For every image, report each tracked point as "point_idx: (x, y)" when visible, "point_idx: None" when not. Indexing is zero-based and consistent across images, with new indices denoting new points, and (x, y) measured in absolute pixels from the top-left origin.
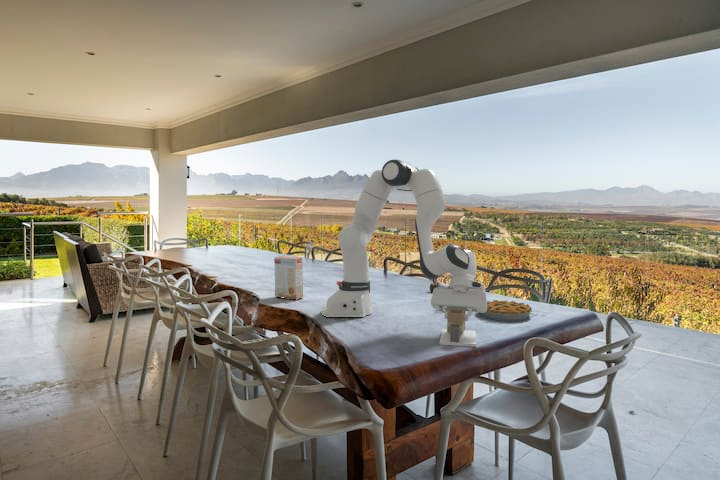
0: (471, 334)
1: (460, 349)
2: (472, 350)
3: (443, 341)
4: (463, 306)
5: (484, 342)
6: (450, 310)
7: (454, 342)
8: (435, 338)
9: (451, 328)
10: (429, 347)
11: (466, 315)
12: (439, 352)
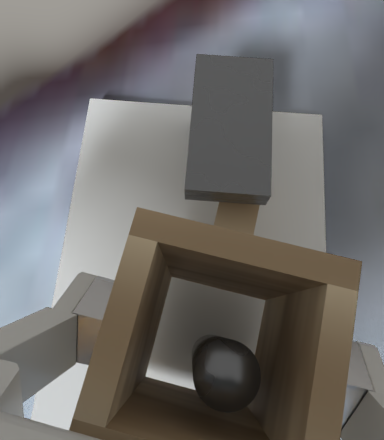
0: None
1: (191, 63)
2: (125, 56)
3: (297, 122)
4: (76, 435)
5: (20, 207)
6: (323, 436)
7: None
8: (356, 252)
9: (263, 67)
10: (368, 74)
11: (80, 300)
12: (304, 9)
